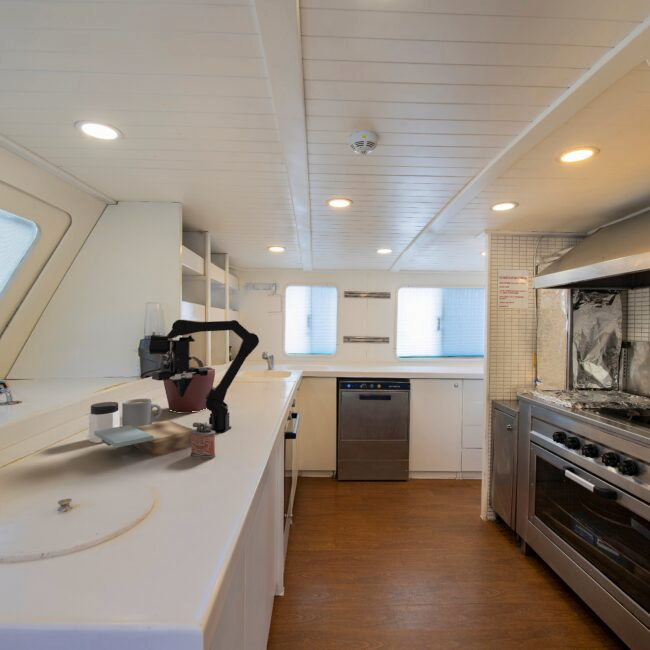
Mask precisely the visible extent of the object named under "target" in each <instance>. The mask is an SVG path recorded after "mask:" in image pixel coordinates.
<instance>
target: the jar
mask: <svg viewBox="0 0 650 650" xmlns="http://www.w3.org/2000/svg"><path fill="white" fill-rule="evenodd" d="M120 411H121V410H120V409H119V402H117V401H103V402H96V403H93V404H91V405H90V413H88V441H89V442H91V443H95V444H101V443H103V442H102V439H100V438H99V437H97V436H95V435H94V431H97V430H103V429H109V428H114V427H120V425H121V423H120V422H121V420H120V419H121V416H120V414H121V413H120Z"/></svg>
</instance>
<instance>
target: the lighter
mask: <svg viewBox="0 0 650 650" xmlns="http://www.w3.org/2000/svg"><path fill="white" fill-rule="evenodd" d="M192 427H193V428H194V430H191V447H190V449H191V450H190V458H194V457H196V459H200V458H203V460H213V459H215V458H216V450H215V449H216V441H215V438H216V436H215V435H216V432H215V431H212V430H211V424H209V423H208V422H207V421H204V422H198V421H197V422H196V421H194V422H192ZM195 428H196V429H195ZM214 457H215V458H214ZM212 458H213V459H212Z"/></svg>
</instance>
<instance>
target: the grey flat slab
mask: <svg viewBox="0 0 650 650" xmlns="http://www.w3.org/2000/svg"><path fill="white" fill-rule="evenodd" d="M94 435H95V436H97V437H99V438H100V439H102V442H101V443H103V444H105V445H107V446H112V447H114V448H121V447H126V446H132V444H136V443H141V442H145V441H150V440H153V435H150V434H148V433H146V432H144V431H141V430H139V429H137V428H135V427H132V426H130V425H126V426H120V427H114V428H109V429H103V430H97V431H94Z"/></svg>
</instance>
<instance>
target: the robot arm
mask: <svg viewBox="0 0 650 650" xmlns="http://www.w3.org/2000/svg"><path fill="white" fill-rule="evenodd" d="M218 331H219V332H221V331H222V332H223V331H225V332H226V331H232V332H234V334H236V335H237V336H238V337H239V338H240V339H241V342H240V345H239V348H238V351H237V353H236V355H235V356H234V358H233V360H232V361H231V363H230V364H229V366H228V368H227V369H226V371H225V373H224V375H223V377H222V378H221V379H220V382H219V383H218V384H217V385H216V387H215V386H214V385H213V386H212V387H211V390H210V392H209V393H208V394H207V395H206V399H207V400H206V407H207V409H206V410H208V411H210V412H211V413H209V417H208V424H211V430H212V431H215V433H225V432H227V431H229V430H230V429H232V426H230V412H229V405H228V404H227V403H226V402H225V397H226V395H227V393H228V389H229V388H230V386H231V384H232V383H233V381H234V379H235V378H236V376H237V374H238V373H239V371H240V369H241V367H242V366H243V364H244V362H245V361H246V359H247V357H249V356H250V354H251V353H252V352H253V351H254V350H255V349H256V347H257V346H258V345H259V343H260V339H259V337H258V335H257V334H256V333H254V332H250V331H249V330H248V329H246V328H245V327H244V326H243V325H241V323H240V322H239V321H238V320H236V319H235V320H234V319H233V320H218V321H195V320H194V321H193V320H187V319H177V320H175V321H174V322H173V323H172V326H171V330H170V331H169V333H167V335H166V336H165V335H161V336H160V335H159V336H158V335H151V336H150V341H149V345H148V349H149V355H150V356H151V355H152V356H153V355H154V356H155V355H156V356H157V355H158V356H159V355H169V353H170V352H172V356H171V357H170V361H167V360H161V361H160V364H159V365H160V370H153V372H152V374H151V380H153V381H154V380H156V381H163V380H171V381H172V382H173V383H174V385H175V387H176V389H177V392H178V394H179V397H183V396H184V394H185V391H186V389H187V387H188V385H189V384H190V382H191V380H192V379H194V377H192V375H195V374H199V375H200V376H205V375H208V369H207V368H204V367H205V366H204V367H199V366H193V367H194V368H190V367H191V366H190V364H191V363H190V362H191V360H193V359H192V357H190V356H191V352H190V351H191V345H190V343H191V342H195V341H196V339H195V338H194V337H193V336H192V334H197V333H200V332H218ZM190 334H191V335H190ZM186 335H188V336H186ZM179 336H180V337H179ZM185 336H186V337H185ZM177 337H179V338H178V339H176V338H177ZM165 370H166V371H165ZM178 372H179V373H178Z"/></svg>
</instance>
